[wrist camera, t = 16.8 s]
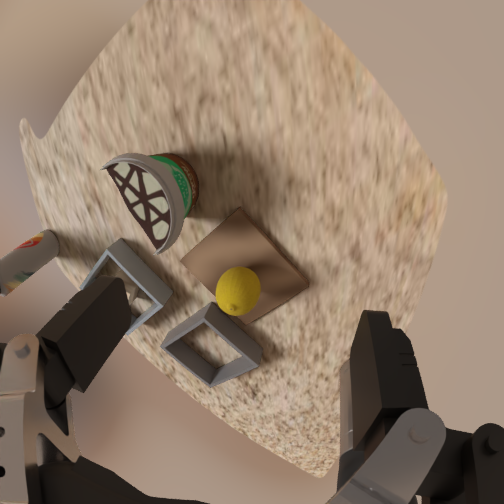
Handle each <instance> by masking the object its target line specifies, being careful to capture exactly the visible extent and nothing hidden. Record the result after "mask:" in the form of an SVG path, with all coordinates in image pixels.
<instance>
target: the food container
mask: <svg viewBox="0 0 504 504" xmlns="http://www.w3.org/2000/svg"><path fill="white" fill-rule="evenodd" d="M104 169H107V171H108V173H109V175H110V176H111V177H112V179H113V180H114V182H115V184H116V186H117V187H118V189H119V191H120V193H121V195H122V197H123V199H124V202H125V204H126V205H127V207H128V209H129V211H130V212H131V214H132V215H133V217H134V218H135V219H136V220H137V222H138V223H139V224H140V225H141V227H142V228H143V229H144V231H145V233H146V234H147V236H148V237H149V239H150V240H151V242H152V243H153V245H154V246H155V248H156V252H155V253H154V255H155V254H157V255H158V254H160V253H162V252H164V251H165V250H167V249H168V248H170V247H171V246H172V245H173V244H174V243H175V241H176V240H177V238H178V237H179V235H180V232H181V230H182V226H183V223H184V219H185V218H186V216H187V215H188V213H189V212H190V211H191V209H192V208H193V207H194V205H195V204H196V201H197V198H198V195H199V183H198V179H197V176H196V173H195V171H194V170H193V168H192V167H191V165H190V164H189V163H188V162H187V161H185V160H184V159H183V158H181V157H179V156H177V155H174V154H168V153H166V154H156V155H150V156H146V155H143V154H138V153H126V154H122V155H119V156H117V157H115V158H113V159H112V160H110V161H109V162H108V163H106V164H105V165H104V166H103V168H102V169H100V170H104ZM154 255H153V256H154Z"/></svg>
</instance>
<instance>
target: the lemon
mask: <svg viewBox="0 0 504 504" xmlns="http://www.w3.org/2000/svg"><path fill="white" fill-rule="evenodd" d="M260 292H261V286H260V281H259V279H258V277H257V275H256V274H255V273H254V272H253V271H252V270H250V269H248V268H246V267H233V268H231V269H229V270H227V271H226V272H225V273H224V274H223V275H222V276H221V278H220V279H219V281H218V283H217V287H216V301H217V303H218V305H219V307H220V308H221V309H222V310H223V311H224V312H226V313H227V314H230V315H234V316H240V315H244V314H246V313H248V312H249V311H250V310H252V309H253V308H254V306H255V305H256V303H257V301H258V300H259V297H260Z"/></svg>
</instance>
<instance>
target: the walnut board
mask: <svg viewBox="0 0 504 504" xmlns="http://www.w3.org/2000/svg"><path fill="white" fill-rule="evenodd" d="M180 262H181V263H182V264H183V265H184V266H185V267H186V268H187V269H188V270H189V271H190V272H191V273H192V274H193V275H194V276H195V277H196V278H197V279H198V280H199V281H200V282H201V283H202V284H203V285H204V286H205V287H206V288H207V289H208V290H209V291H210V292H211V293H212V294H213V295H214V296H215V297H216V287H217V283H218V281H219V279H220V278H221V276H222V275H223V274H224V273H225V272H226V271H227V270H229V269H231V268H233V267H246V268H248V269H250V270H252V271H253V272H254V273H255V274H256V275H257V277H258V279H259V281H260V286H261V292H260V297H259V300H258V301H257V303H256V305H255V306H254V308H253V309H252V310H250V311H249V312H248V313H246V314H244V315H240V316H236V317H238V318H239V319H240V320H241V321H242V322H243V323H244V324H245V325H247V324H249V323H251V322H252V321H254V320H256V319H257V318H259V317H261V316H262V315H264V314H266V313H267V312H269V311H270V310H272V309H274V308H275V307H277V306H279V305H280V304H282V303H283V302H285V301H287V300H288V299H290V298H291V297H293V296H295V295H296V294H298V293H299V292H301V291H302V290H304V289H306V288H307V287H309V282H308V281H307V280H306V279H305V277H304V276H303V275H302V274H301V273H300V272H299V271H298V270H297V269H296V268H295V266H294V265H293V264H292V263H291V262H290V261H289V260H288V259H287V258H286V256H285V255H284V254H283V253H282V252H281V251H280V250H279V249H278V248H277V247H276V245H275V244H274V243H273V242H272V241H271V240H270V239H269V238H268V237H267V236H266V235H265V233H264V232H263V231H262V230H261V229H260V228H259V227H258V226H257V225H256V224H255V223H254V222H253V220H252V219H251V218H250V217H249V216H248V215H247V214H246V213H245V212H244V211H243V210H242V209H241V207H239V208H238V209H237V210H236V211H235V212H234V213H233V214H231V215H230V216H229V217H228V218H227V219H226V220H225V221H223V222H222V223H221V224H220V225H219V226H218V227H217V228H215V229H214V230H213V231H212V232H211V233H210V234H209V235H208V236H206V237H205V238H204V239H203V240H202V241H201V242H200V243H199V244H197V245H196V246H195V247H194V248H193V249H192V250H191V251H190V252H189V253H187V254H186V255H185V256H184V257H183V258H182V259H181V260H180Z"/></svg>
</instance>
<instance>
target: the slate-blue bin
mask: <svg viewBox="0 0 504 504" xmlns="http://www.w3.org/2000/svg"><path fill="white" fill-rule="evenodd" d="M110 257H111V258H112V259H113V260H114V261H115V262H116V263H117V265H118V266H119V267H120V268H121V269H122V270H123V271H124V272H125V273H126V274H127V275H128V276H129V277H130V278H131V279H132V280H133V281H134V282H135V283H136V284H137V285H138V286H139V287H140V288H141V289H142V290H143V291H144V292H145V293H146V294H147V295H148V296H149V297H150V298H151V299H152V300H153V301H154V302H155V303H154V304H153V305H152V306H151V307H150V308H148V309H147V310H146V311H145V312H144V313H143V314H141V315H140V316H139V317H138V318H136V317H135V316H134V315H133V314H132V320H131V324H130V327H129V329H128V330H127V332H126V333H125V334H127V335H129V334H130V333H132V332H133V331H134V330H135V329H136V328H138V327H139V326H140V325H141V324H142V323H144V322H145V321H146V320H147V319H149V318H150V317H151V316H152V315H153V314H155V313H156V312H157V311H158V310H160V309H161V308H162V307H163V306H164V305H165V303H166V302H167V300H168V299H169V298H170V296H171V295H172V293H173V291H172V290H171V289H170V288H169V287H168V286H167V285H166V284H165V283H164V282H163V281H162V280H161V279H160V278H159V277H158V276H157V275H156V274H155V273H154V272H153V271H152V270H151V269H150V268H149V267H148V266H147V265H146V264H145V263H144V262H143V261H142V260H141V259H140V258H139V257H138V256H137V255H136V253H135V252H134V251H133V250H132V249H131V248H130V247H129V246H128V245H127V244H126V243H125V242H124V241H123V240H122V239H121V238H120V239H119V240H118V241H116V242H115V243H114V244H112V245H111V246H110V247H109V248H107V249H106V251H105V252H104V254H103V255H102V256H101V258H100V259H99V260H98V262H97V263H96V265H95V266H94V267H93V269H92V270H91V272H90V273H89V275H88V276H87V277H86V279H85V280H84V282H83V283H82V285H81V286H80V289H81V290H83V289H85V288H86V287H88V286H90V285H91V284H92V283H93V282H94V281H95V280H96V279H97V278H96V275H97V274H98V273H99V271H100V270H101V269H102V267H103V266H104V265H105V263H106V262H107V261H108V260H109V258H110Z"/></svg>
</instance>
